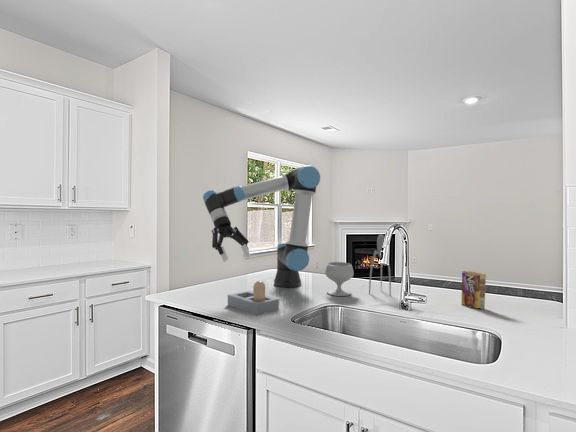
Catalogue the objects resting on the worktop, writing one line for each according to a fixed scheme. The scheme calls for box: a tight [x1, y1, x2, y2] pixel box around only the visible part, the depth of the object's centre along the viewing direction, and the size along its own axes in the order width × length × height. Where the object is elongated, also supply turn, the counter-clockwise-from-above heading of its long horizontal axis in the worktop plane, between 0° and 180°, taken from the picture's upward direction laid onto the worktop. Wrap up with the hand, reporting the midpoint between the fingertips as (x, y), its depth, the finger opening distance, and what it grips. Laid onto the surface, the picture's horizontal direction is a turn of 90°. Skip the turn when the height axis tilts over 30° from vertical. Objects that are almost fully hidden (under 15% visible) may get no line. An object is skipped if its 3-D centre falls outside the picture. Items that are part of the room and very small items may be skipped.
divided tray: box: [227, 290, 280, 316], centre depth 153 cm, size 12×20×4 cm, turn 44°
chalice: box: [324, 261, 355, 297], centre depth 178 cm, size 14×14×15 cm
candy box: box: [460, 270, 487, 309], centre depth 158 cm, size 9×4×15 cm, turn 26°
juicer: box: [368, 233, 392, 296], centre depth 178 cm, size 10×9×30 cm
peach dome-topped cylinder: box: [252, 280, 266, 302], centre depth 149 cm, size 5×5×11 cm
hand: (237, 258), depth 161 cm, fingers open, 13 cm apart
